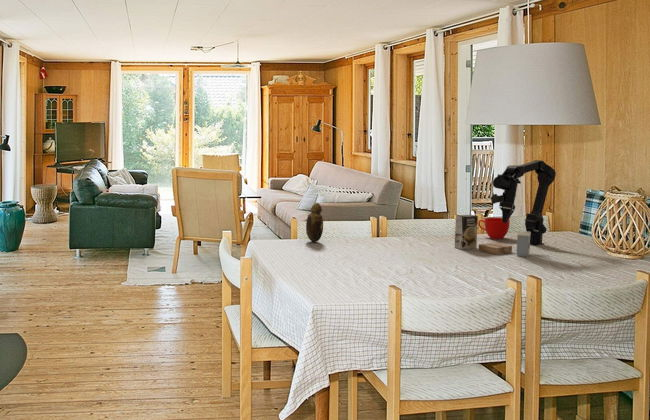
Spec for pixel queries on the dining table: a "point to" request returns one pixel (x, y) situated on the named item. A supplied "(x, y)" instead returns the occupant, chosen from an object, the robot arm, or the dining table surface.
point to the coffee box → (466, 231)
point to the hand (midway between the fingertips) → (504, 223)
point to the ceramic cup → (495, 227)
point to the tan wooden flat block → (495, 248)
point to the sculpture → (315, 223)
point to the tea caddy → (523, 244)
